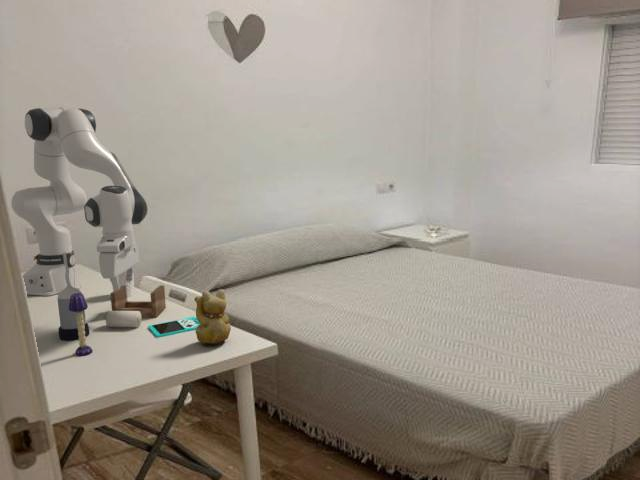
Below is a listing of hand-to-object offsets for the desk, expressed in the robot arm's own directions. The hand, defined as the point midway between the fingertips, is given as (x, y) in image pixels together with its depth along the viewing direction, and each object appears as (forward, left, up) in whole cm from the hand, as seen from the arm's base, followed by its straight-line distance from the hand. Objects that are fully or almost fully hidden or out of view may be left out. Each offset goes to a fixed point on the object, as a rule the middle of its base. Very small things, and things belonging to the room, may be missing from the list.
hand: (123, 285), depth 168 cm
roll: (0, 0, -12) cm, 12 cm away
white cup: (-13, +30, -13) cm, 35 cm away
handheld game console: (+17, -2, -13) cm, 22 cm away
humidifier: (-12, -9, -13) cm, 20 cm away
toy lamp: (-3, -22, -13) cm, 26 cm away
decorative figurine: (+31, -14, -13) cm, 36 cm away
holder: (0, +11, -13) cm, 17 cm away
